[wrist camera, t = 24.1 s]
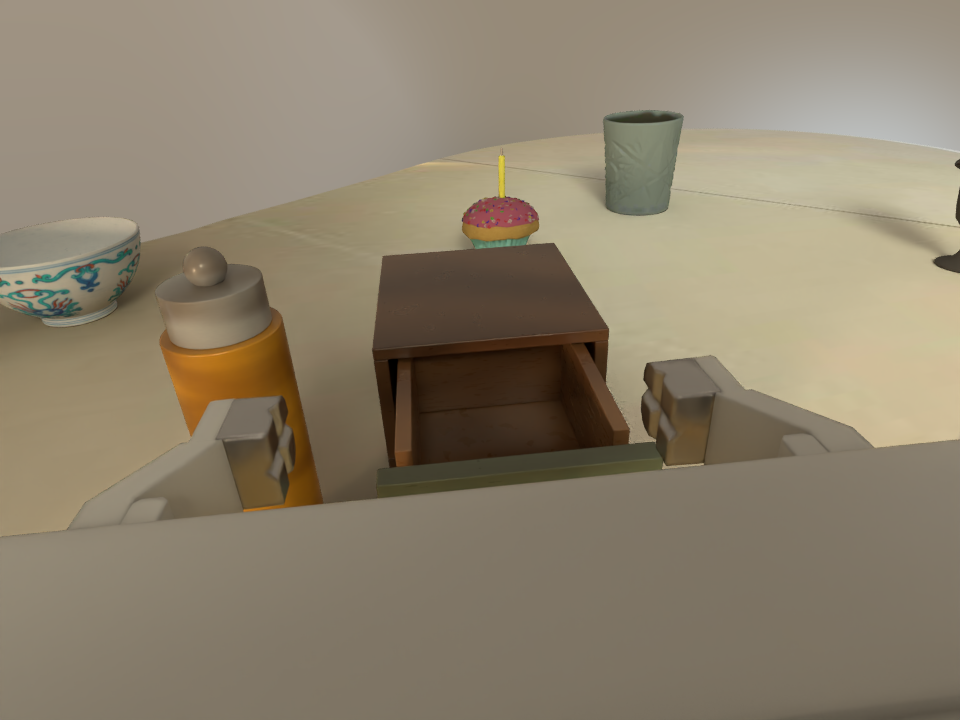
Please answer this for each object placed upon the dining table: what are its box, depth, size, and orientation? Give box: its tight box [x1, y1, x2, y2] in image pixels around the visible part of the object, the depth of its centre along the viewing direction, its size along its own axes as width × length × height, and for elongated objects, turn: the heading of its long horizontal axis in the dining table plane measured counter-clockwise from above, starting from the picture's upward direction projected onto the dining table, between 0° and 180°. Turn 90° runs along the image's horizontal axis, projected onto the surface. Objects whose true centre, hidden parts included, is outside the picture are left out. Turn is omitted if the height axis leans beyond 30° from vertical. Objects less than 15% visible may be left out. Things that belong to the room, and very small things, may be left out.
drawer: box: [376, 343, 663, 498], centre depth 32 cm, size 19×12×7 cm, turn 6°
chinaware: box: [0, 217, 140, 327], centre depth 61 cm, size 15×15×8 cm
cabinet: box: [372, 243, 609, 468], centre depth 44 cm, size 16×14×9 cm
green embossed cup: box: [603, 110, 684, 215], centre depth 84 cm, size 10×10×12 cm
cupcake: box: [462, 148, 539, 249], centre depth 68 cm, size 9×8×12 cm
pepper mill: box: [155, 247, 324, 512], centre depth 28 cm, size 5×5×17 cm
